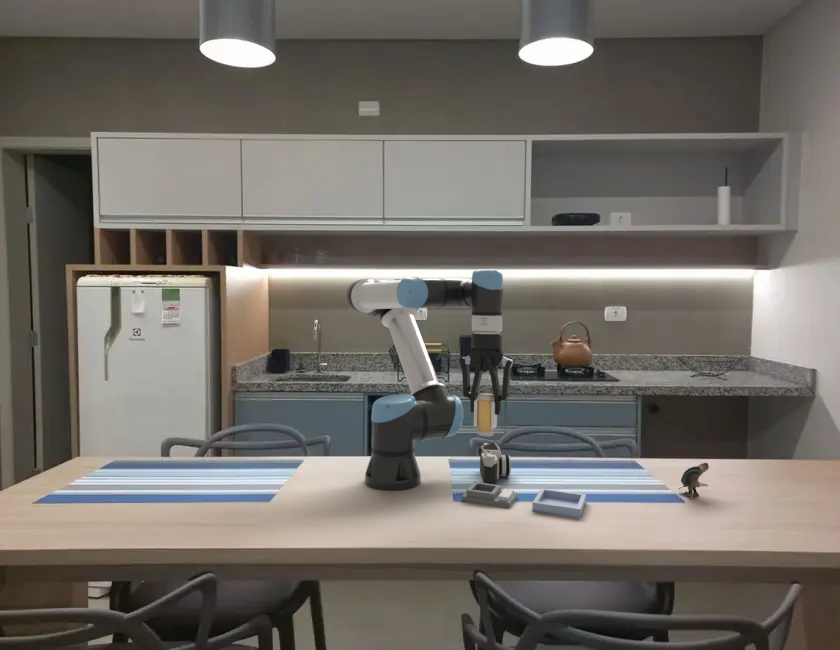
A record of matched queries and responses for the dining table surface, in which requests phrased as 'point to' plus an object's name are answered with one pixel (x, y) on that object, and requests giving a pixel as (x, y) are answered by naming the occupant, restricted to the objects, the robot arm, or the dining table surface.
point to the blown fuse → (484, 414)
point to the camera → (493, 463)
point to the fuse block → (489, 495)
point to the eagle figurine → (693, 479)
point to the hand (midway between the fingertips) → (485, 426)
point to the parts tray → (559, 503)
